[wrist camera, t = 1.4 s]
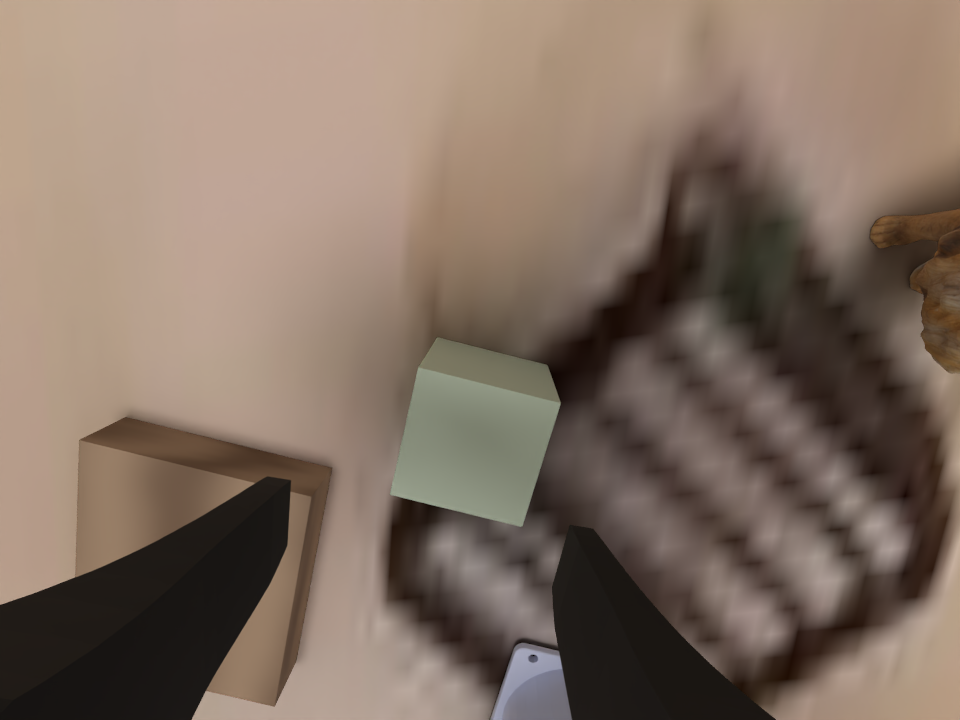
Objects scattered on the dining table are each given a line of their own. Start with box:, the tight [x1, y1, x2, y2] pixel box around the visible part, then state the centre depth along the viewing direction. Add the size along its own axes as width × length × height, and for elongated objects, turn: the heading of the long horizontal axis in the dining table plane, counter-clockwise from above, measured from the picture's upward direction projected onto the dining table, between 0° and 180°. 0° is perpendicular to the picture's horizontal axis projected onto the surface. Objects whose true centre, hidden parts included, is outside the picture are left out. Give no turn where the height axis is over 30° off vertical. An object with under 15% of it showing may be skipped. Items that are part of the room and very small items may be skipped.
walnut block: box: [75, 417, 332, 707], centre depth 23 cm, size 10×12×3 cm
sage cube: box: [390, 337, 561, 527], centre depth 19 cm, size 5×5×5 cm
